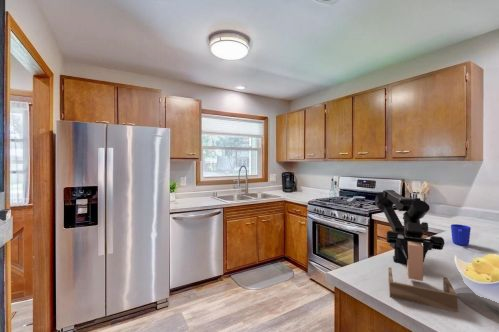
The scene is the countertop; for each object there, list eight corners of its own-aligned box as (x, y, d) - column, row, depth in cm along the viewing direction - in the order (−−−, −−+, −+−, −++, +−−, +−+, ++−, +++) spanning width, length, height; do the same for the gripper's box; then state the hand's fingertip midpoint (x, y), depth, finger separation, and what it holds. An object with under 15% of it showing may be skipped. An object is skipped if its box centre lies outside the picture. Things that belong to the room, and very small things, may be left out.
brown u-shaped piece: (388, 279, 93) (388, 267, 93) (446, 291, 84) (446, 277, 84) (389, 296, 82) (389, 282, 82) (457, 311, 73) (457, 295, 73)
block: (407, 273, 94) (407, 241, 94) (421, 275, 92) (421, 242, 92) (408, 278, 90) (408, 244, 90) (422, 281, 88) (423, 246, 88)
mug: (449, 246, 128) (450, 227, 127) (451, 240, 137) (451, 223, 136) (470, 250, 122) (470, 230, 122) (470, 243, 131) (470, 225, 131)
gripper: (386, 211, 99) (387, 246, 89) (443, 216, 89) (451, 255, 80) (386, 225, 106) (386, 259, 96) (438, 231, 97) (445, 268, 87)
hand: (415, 260), depth 90 cm, fingers closed on block, 4 cm apart
